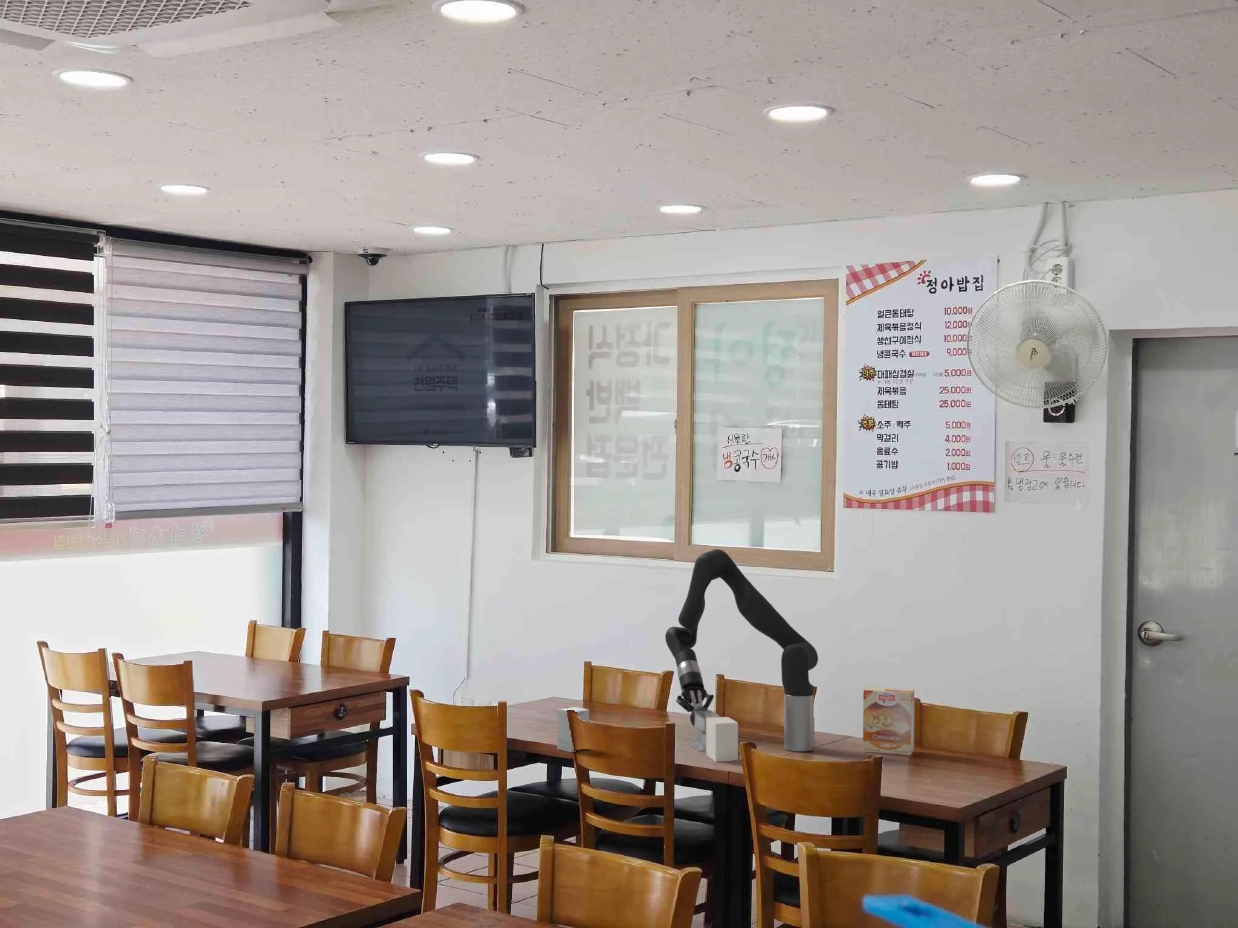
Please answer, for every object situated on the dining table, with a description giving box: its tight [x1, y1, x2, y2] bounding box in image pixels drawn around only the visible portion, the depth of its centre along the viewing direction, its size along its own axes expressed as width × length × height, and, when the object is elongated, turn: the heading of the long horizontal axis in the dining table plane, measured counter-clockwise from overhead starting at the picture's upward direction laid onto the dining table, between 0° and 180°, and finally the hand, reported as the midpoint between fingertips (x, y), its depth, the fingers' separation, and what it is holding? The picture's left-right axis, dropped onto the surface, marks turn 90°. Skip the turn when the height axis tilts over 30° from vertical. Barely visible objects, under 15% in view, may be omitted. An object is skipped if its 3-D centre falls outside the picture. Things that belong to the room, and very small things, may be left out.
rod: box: [689, 707, 709, 728], centre depth 431 cm, size 23×7×7 cm, turn 13°
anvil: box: [687, 709, 721, 753], centre depth 435 cm, size 12×9×11 cm
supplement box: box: [556, 706, 590, 753], centre depth 430 cm, size 7×7×13 cm
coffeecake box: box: [862, 686, 915, 756], centre depth 429 cm, size 15×7×20 cm, turn 70°
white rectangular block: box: [705, 716, 739, 762], centre depth 419 cm, size 10×7×11 cm
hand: (700, 720), depth 442 cm, fingers closed
